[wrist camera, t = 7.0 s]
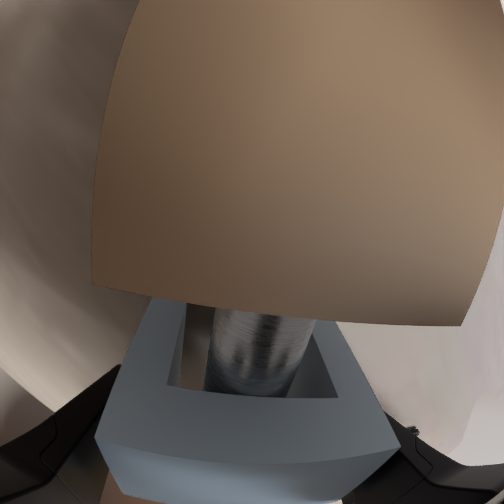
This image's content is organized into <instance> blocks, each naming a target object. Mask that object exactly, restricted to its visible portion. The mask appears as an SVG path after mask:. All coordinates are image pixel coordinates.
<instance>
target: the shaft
mask: <svg viewBox="0 0 504 504" xmlns="http://www.w3.org/2000/svg"><path fill="white" fill-rule="evenodd" d="M315 323H316V319H305V318H295V317H286V316H277V315H268V314H260V313H252V312H244V311H237V310H230V309H223V308H215V314H214V320H213V327H212V333H211V340H210V346H209V353H208V360H207V367H206V373H205V380H204V388H203V391H206V392H214V393H223V394H232V395H243V396H255V397H273V398H286V396H287V394H288V392H289V389H290V387H291V385H292V382H293V380H294V377H295V375H296V373H297V370H298V368H299V365H300V363H301V360H302V358H303V355H304V352H305V350H306V347H307V345H308V342H309V339H310V337H311V334H312V331H313V328H314V326H315Z"/></svg>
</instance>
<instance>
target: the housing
mask: <svg viewBox="0 0 504 504" xmlns="http://www.w3.org/2000/svg"><path fill="white" fill-rule="evenodd" d="M503 206H504V13H503V9H502V5H501V1H500V0H139V2H138V5H137V7H136V10H135V12H134V15H133V17H132V20H131V22H130V25H129V28H128V30H127V33H126V36H125V39H124V42H123V45H122V48H121V51H120V54H119V58H118V61H117V64H116V68H115V71H114V75H113V79H112V83H111V87H110V91H109V95H108V99H107V104H106V109H105V113H104V119H103V124H102V129H101V135H100V142H99V148H98V155H97V163H96V172H95V182H94V193H93V208H92V238H91V256H92V284H93V285H97V286H102V287H106V288H111V289H116V290H120V291H125V292H130V293H135V294H140V295H145V296H151V297H156V298H161V299H167V300H173V301H178V302H184V303H190V304H197V305H203V306H209V307H216V308H223V309H230V310H237V311H244V312H252V313H260V314H268V315H277V316H286V317H295V318H305V319H316V320H327V321H339V322H353V323H368V324H387V325H413V326H461V324H462V322H463V320H464V318H465V316H466V314H467V312H468V309H469V307H470V305H471V303H472V300H473V298H474V296H475V293H476V291H477V289H478V286H479V284H480V281H481V278H482V276H483V273H484V271H485V268H486V265H487V262H488V259H489V256H490V253H491V250H492V247H493V244H494V240H495V237H496V233H497V230H498V226H499V222H500V218H501V214H502V210H503Z"/></svg>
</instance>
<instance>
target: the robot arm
mask: <svg viewBox="0 0 504 504" xmlns="http://www.w3.org/2000/svg"><path fill="white" fill-rule="evenodd" d="M121 366H122V365H121V364H118V365H116V366H115V367H114V368H112V369H111V370H110V371H109V372H107V373H106V374H105V375H103V376H102V377H101V378H99V379H98V380H97V381H96V382H94V383H93V384H92V385H90V386H89V387H88V388H86V389H85V390H84V391H83V392H81V393H80V394H79V395H77V396H76V397H75V398H73V399H72V400H71V401H69V402H68V403H67V404H66V405H64V406H63V407H62V408H60V409H59V410H58V411H56V412H55V413H54V415H51V416H50V417H48V418H47V419H46V420H44V421H43V422H41V423H40V424H39V425H37V426H36V427H34V428H32V429H31V430H29V431H27V432H26V433H24V434H22V435H20V436H19V437H17V438H15V439H13V440H11V441H10V442H8V443H6V444H4V445H2V446H0V504H100V501H101V497H102V493H103V490H104V486H105V482H106V479H107V475H108V472H109V468H108V466H107V464H106V462H105V460H104V457H103V455H102V453H101V451H100V449H99V447H98V445H97V442H96V440H95V438H94V437H95V434H96V431H97V428H98V425H99V422H100V419H101V417H102V414H103V411H104V409H105V406H106V403H107V401H108V398H109V395H110V393H111V390H112V388H113V385H114V383H115V380H116V378H117V375H118V373H119V370H120V368H121ZM384 413H385V415H386V417H387V419H388V421H389V423H390V425H391V427H392V429H393V431H394V433H395V435H396V437H397V439H398V441H399V443H400V445H401V447H400V448H399V449H398V450H397V451H396V452H395V453H394V454H393V455H392V456H391V457H390V458H389V459H388V460H387V461H386V462H385V463H384V464H383V465H382V466H380V467H379V468H378V469H377V470H376V471H375V472H374V473H373V474H371V475H370V476H369V477H368V478H367V479H366V480H364V481H363V482H362V483H361V484H359V485H358V486H357V487H356V488H354V489H353V490H352V491H351V492H349V493H348V494H347V495H345V496H344V497H343V498H341V500H342V503H343V504H504V463H503V464H495V465H483V466H465V465H462V464H460V463H458V462H456V461H454V460H452V459H451V458H449V457H447V456H445V455H444V454H442V453H440V452H439V451H437V450H435V449H434V448H432V447H431V446H429V445H428V444H426V443H425V442H424V441H422V440H421V439H420V438H418V437H417V436H418V435H419V433H420V432H419V430H418V429H414V430H411V431H409V430H408V429H406V428H405V427H404V426H402V425H401V424H400V423H399V422H397V421H396V420H395V419H393V418H392V417H391V416H390V415H388V414H387V413H386V412H385V411H384Z"/></svg>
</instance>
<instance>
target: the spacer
mask: <svg viewBox="0 0 504 504" xmlns="http://www.w3.org/2000/svg"><path fill="white" fill-rule="evenodd" d="M186 309H187V303H184V302H178V301H173V300H167V299H161V298H156V297H152V299H151V301H150V303H149V305H148V307H147V309H146V311H145V314H144V316H143V318H142V320H141V322H140V324H139V327H138V329H137V331H136V333H135V335H134V338H133V340H132V342H131V345H130V347H129V349H128V351H127V354H126V356H125V358H124V361H123V363H122V366H121V368H120V370H119V373H118V375H117V378H116V380H115V383H114V385H113V388H112V390H111V393H110V395H109V398H108V401H107V403H106V406H105V409H104V411H103V414H102V417H101V419H100V422H99V425H98V428H97V431H96V434H95V437H94V438H95V440H96V442H97V445H98V447H99V449H100V451H101V453H102V455H103V457H104V460H105V462H106V464H107V466H108V468H109V470H110V471H111V473H112V475H113V477H114V479H115V481H116V483H117V484H118V486H119V488H120V490H121V491H122V493H123V494H126V495H130V496H134V497H138V498H143V499H147V500H151V501H156V502H162V503H167V504H327V503H332V502H337V501H338V500H340V499H341V498H343V497H344V496H345V495H347V494H348V493H349V492H351V491H352V490H353V489H354V488H356V487H357V486H358V485H359V484H361V483H362V482H363V481H364V480H366V479H367V478H368V477H369V476H370V475H371V474H373V473H374V472H375V471H376V470H377V469H378V468H379V467H380V466H382V465H383V464H384V463H385V462H386V461H387V460H388V459H389V458H390V457H391V456H392V455H393V454H394V453H395V452H396V451H397V450H398V449H399V448H400V447H401V445H400V443H399V441H398V439H397V437H396V435H395V433H394V431H393V429H392V427H391V425H390V423H389V421H388V419H387V417H386V415H385V413H384V411H383V409H382V407H381V405H380V403H379V402H378V400H377V398H376V396H375V394H374V392H373V390H372V388H371V386H370V384H369V382H368V381H367V379H366V377H365V375H364V373H363V371H362V369H361V367H360V366H359V364H358V362H357V360H356V358H355V356H354V355H353V353H352V351H351V349H350V347H349V345H348V344H347V342H346V340H345V338H344V336H343V335H342V333H341V331H340V329H339V327H338V326H337V324H336V322H335V321H327V320H316V323H315V326H314V328H313V331H312V334H311V337H310V339H309V342H308V345H307V347H306V350H305V352H304V355H303V358H302V360H301V363H300V365H299V368H298V370H297V373H296V375H295V377H294V380H293V382H292V385H291V387H290V389H289V392H288V394H287V396H286V398H273V397H255V396H243V395H232V394H223V393H214V392H206V391H199V390H192V389H186V388H180V387H178V385H179V379H180V374H181V364H182V351H183V340H184V329H185V319H186Z"/></svg>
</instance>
